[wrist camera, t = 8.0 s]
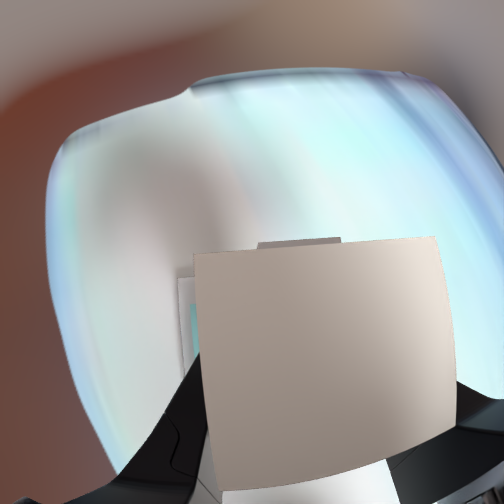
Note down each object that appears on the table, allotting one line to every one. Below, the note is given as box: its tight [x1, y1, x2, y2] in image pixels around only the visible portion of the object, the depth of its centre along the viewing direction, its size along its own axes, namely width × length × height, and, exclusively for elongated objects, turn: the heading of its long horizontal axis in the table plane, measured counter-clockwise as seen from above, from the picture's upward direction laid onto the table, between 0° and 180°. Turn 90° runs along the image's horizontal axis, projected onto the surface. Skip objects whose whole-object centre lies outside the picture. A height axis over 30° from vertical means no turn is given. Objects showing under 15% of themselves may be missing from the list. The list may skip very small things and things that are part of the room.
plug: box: [194, 236, 457, 491], centre depth 10 cm, size 5×4×12 cm
